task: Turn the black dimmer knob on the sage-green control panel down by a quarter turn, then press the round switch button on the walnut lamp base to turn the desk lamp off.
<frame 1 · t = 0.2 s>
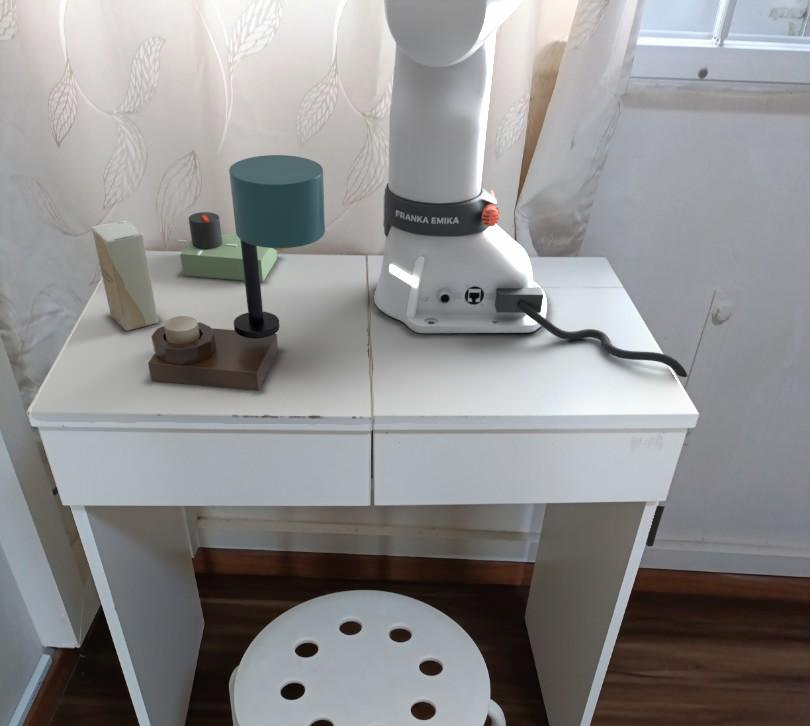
lamp: (260, 360, 91), resting on lamp base
dimmer knob: (205, 229, 107), point 5 cm above the table, hinge at 120.0°
lamp base: (216, 365, 90), on the table
dimmer panel: (231, 267, 110), on the table
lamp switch: (182, 330, 87), point 4 cm above the table, slide at 0.1 cm
box: (135, 321, 98), on the table
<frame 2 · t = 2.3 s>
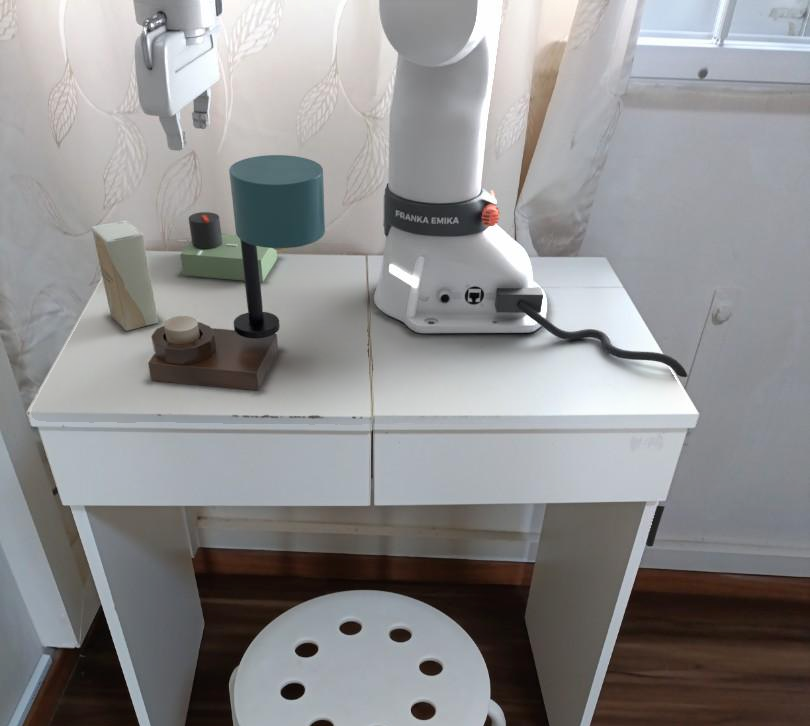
hand: (190, 137, 99), 16 cm above the table, tool pointing down, fingers open, 8 cm apart
nothing on the table moved.
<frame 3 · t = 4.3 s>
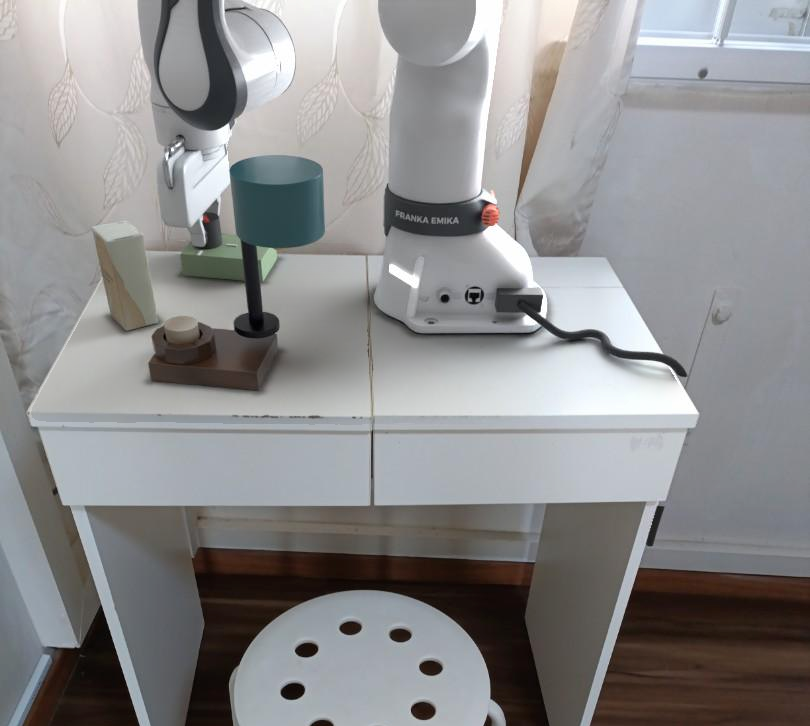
hand: (206, 237, 108), 4 cm above the table, tool pointing down, fingers closed on dimmer knob, 4 cm apart
dimmer knob: (205, 229, 107), point 5 cm above the table, hinge at 120.0°, touching gripper
everything else where it was.
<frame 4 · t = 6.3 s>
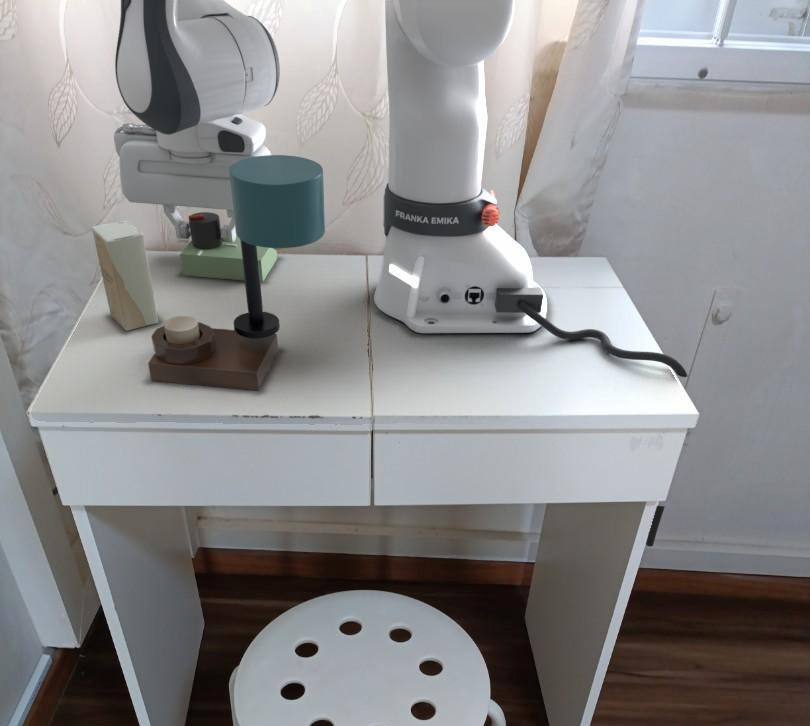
hand: (206, 239, 108), 4 cm above the table, tool pointing down, fingers open, 5 cm apart
dimmer knob: (205, 229, 107), point 5 cm above the table, hinge at 25.5°
everything else where it was.
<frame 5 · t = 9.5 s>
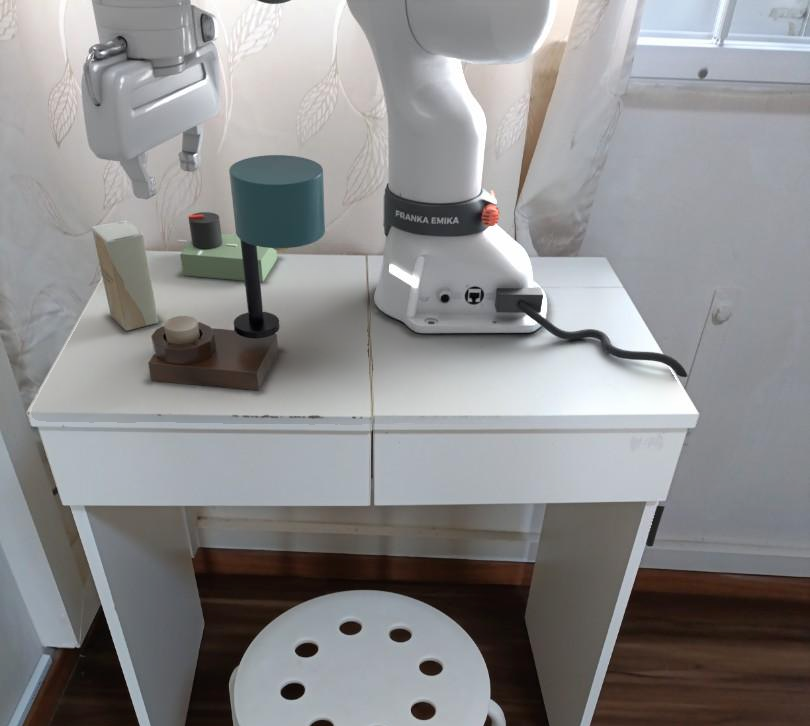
hand: (169, 182, 84), 17 cm above the table, tool pointing down, fingers open, 8 cm apart
nothing on the table moved.
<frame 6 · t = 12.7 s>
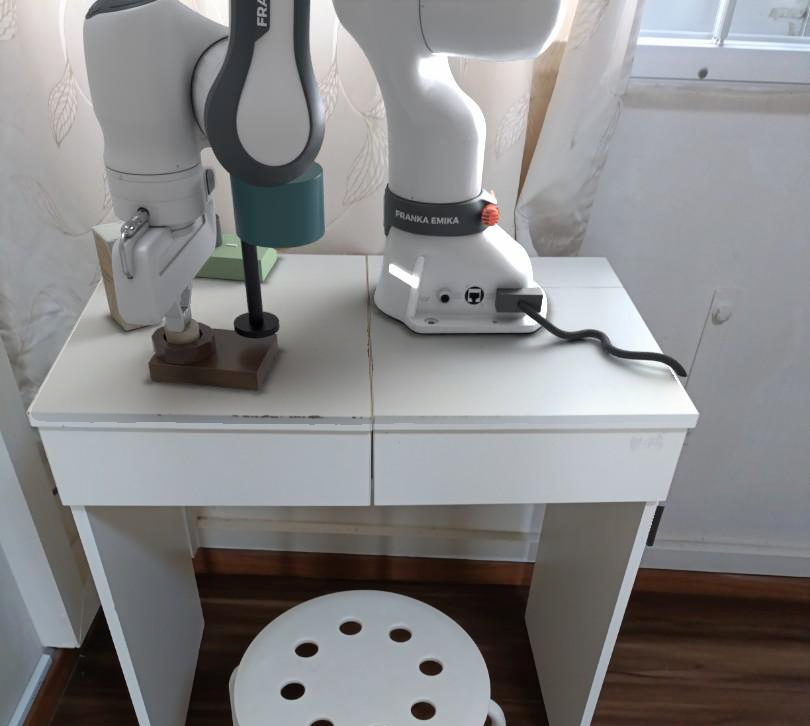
hand: (180, 326, 86), 5 cm above the table, tool pointing down, fingers closed, pressing on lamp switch
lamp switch: (182, 332, 87), point 4 cm above the table, slide at -0.1 cm, touching gripper
everything else where it was.
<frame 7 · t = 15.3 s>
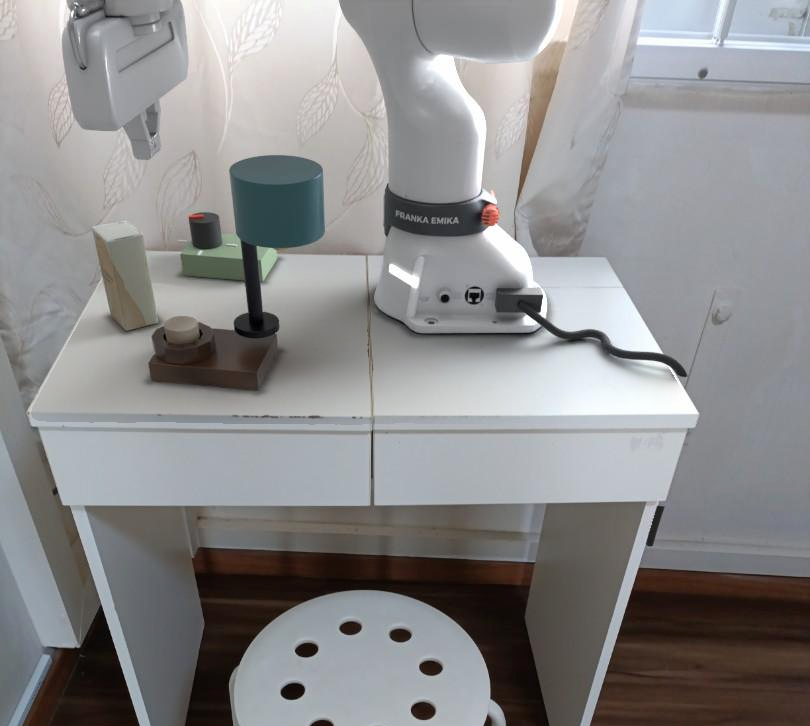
hand: (148, 155, 78), 21 cm above the table, tool pointing down, fingers closed
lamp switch: (182, 330, 87), point 4 cm above the table, slide at 0.1 cm
everything else where it was.
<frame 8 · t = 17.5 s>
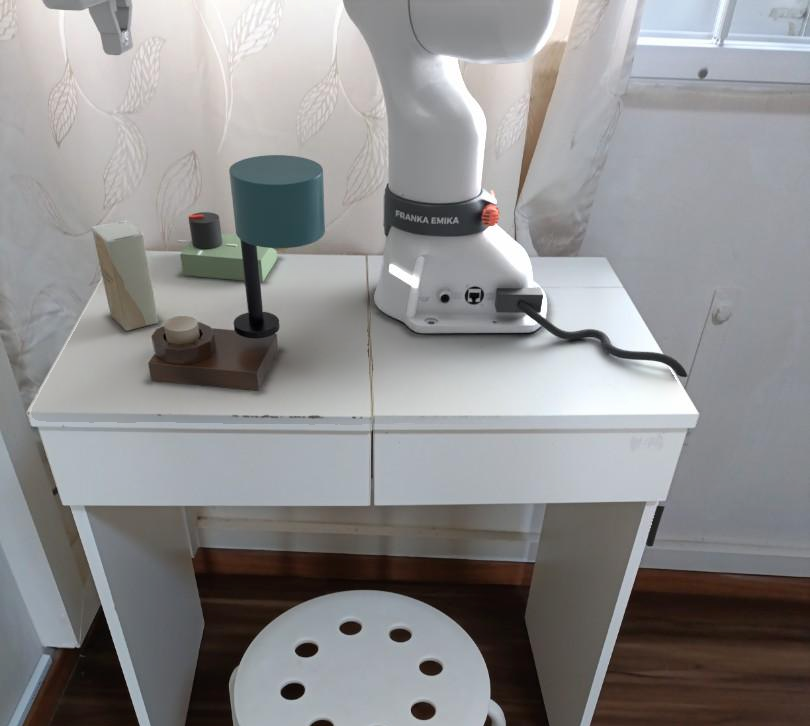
hand: (119, 52, 76), 29 cm above the table, tool pointing down, fingers closed
nothing on the table moved.
at the end: dimmer knob at +26° (first picture: +120°); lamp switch pushed in 1.1 cm at the most during the clip, back to where it started at the end; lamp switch slide at 0.1 cm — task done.
